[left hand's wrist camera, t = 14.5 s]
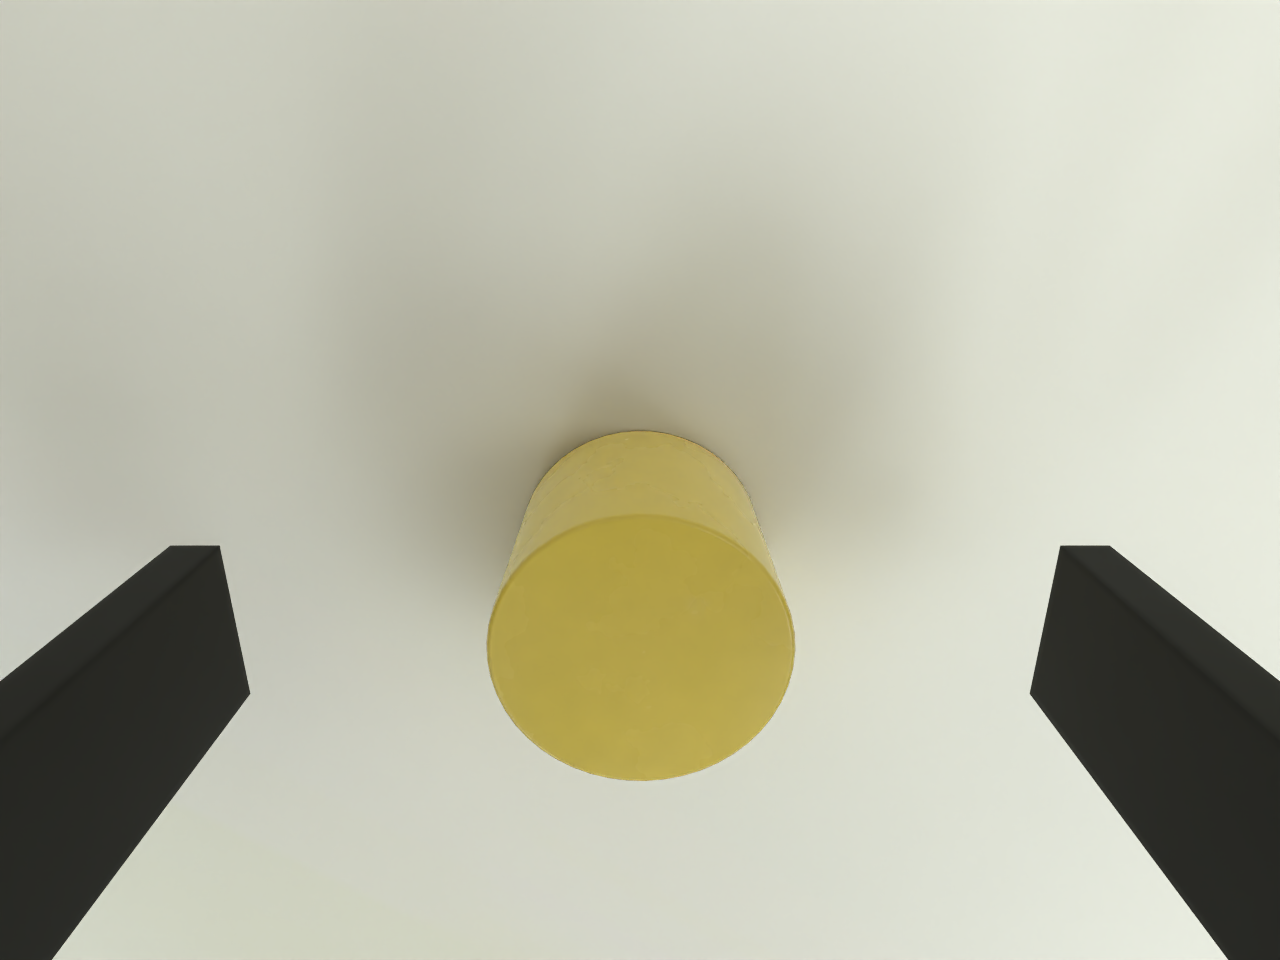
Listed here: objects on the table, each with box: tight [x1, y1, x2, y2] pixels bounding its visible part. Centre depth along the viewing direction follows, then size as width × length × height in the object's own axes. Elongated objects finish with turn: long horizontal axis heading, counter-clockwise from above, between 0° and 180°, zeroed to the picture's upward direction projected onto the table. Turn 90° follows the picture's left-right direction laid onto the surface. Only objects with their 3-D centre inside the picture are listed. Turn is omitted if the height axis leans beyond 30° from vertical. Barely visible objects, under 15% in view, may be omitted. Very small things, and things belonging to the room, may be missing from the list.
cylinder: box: [487, 431, 795, 781], centre depth 14 cm, size 5×5×4 cm
